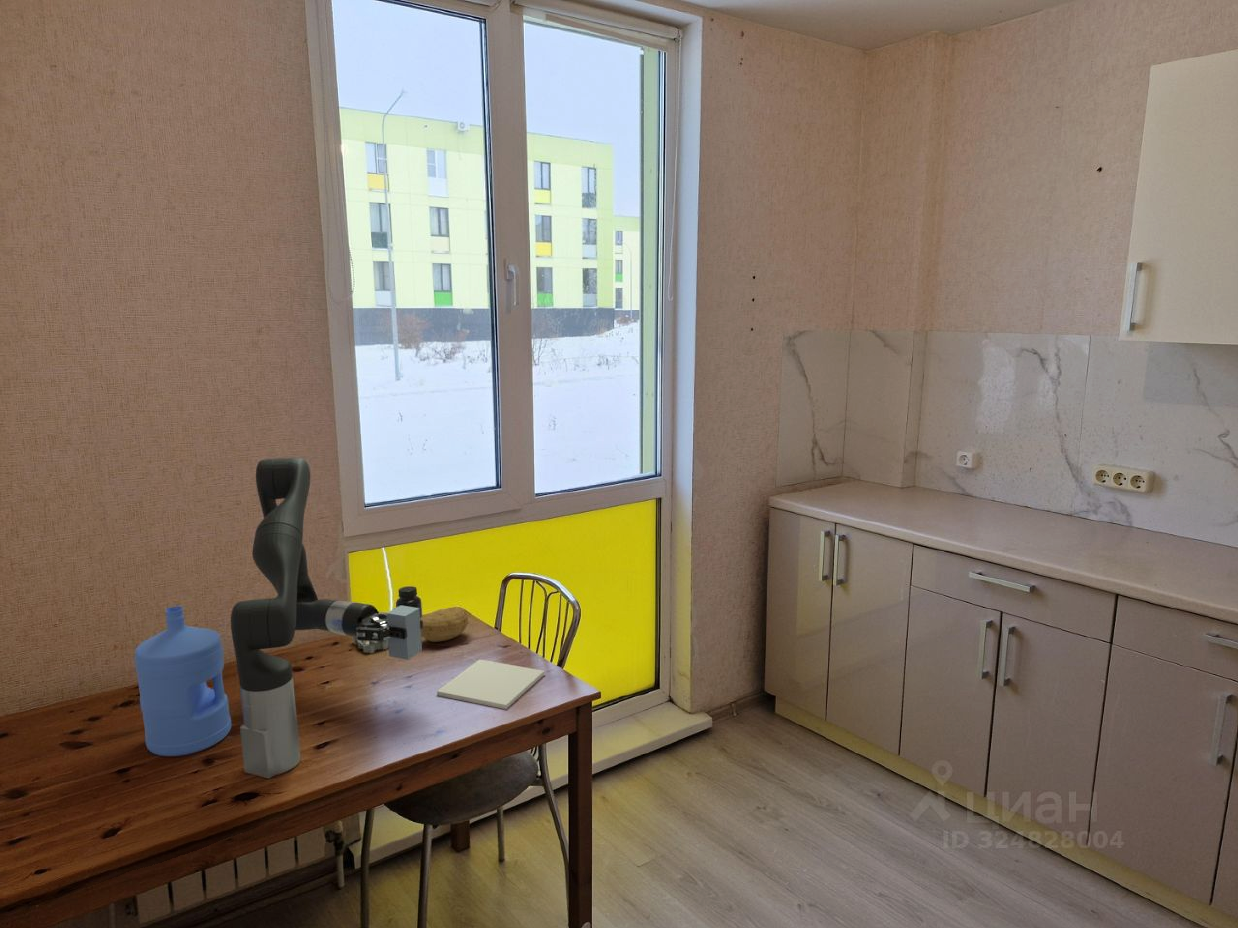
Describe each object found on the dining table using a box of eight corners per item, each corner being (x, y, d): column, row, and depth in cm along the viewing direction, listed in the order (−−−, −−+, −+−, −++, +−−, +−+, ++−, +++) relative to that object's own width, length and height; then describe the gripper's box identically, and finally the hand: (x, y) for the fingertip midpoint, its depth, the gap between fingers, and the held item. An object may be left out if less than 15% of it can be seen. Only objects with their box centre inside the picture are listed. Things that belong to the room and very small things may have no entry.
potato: (410, 640, 213) (409, 611, 212) (459, 627, 221) (458, 600, 220) (425, 652, 205) (423, 623, 204) (475, 639, 213) (473, 610, 212)
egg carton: (351, 642, 213) (350, 628, 212) (379, 635, 217) (378, 621, 216) (364, 656, 204) (362, 641, 203) (393, 648, 208) (391, 633, 208)
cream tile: (506, 709, 176) (506, 704, 175) (437, 695, 182) (437, 691, 182) (544, 674, 192) (544, 670, 192) (479, 663, 199) (479, 659, 198)
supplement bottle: (426, 626, 223) (424, 584, 220) (418, 635, 216) (415, 593, 214) (402, 625, 223) (400, 584, 221) (393, 635, 217) (390, 592, 214)
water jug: (136, 763, 156) (117, 628, 151) (158, 724, 171) (142, 600, 166) (223, 751, 160) (208, 618, 155) (238, 714, 175) (224, 592, 170)
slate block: (408, 659, 174) (405, 616, 172) (389, 656, 176) (386, 613, 174) (421, 650, 178) (419, 608, 176) (403, 647, 180) (400, 605, 178)
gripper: (328, 614, 174) (392, 624, 168) (371, 593, 187) (432, 602, 181) (330, 646, 175) (394, 658, 169) (373, 623, 188) (434, 633, 182)
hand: (413, 629), depth 175 cm, fingers closed on slate block, 5 cm apart
